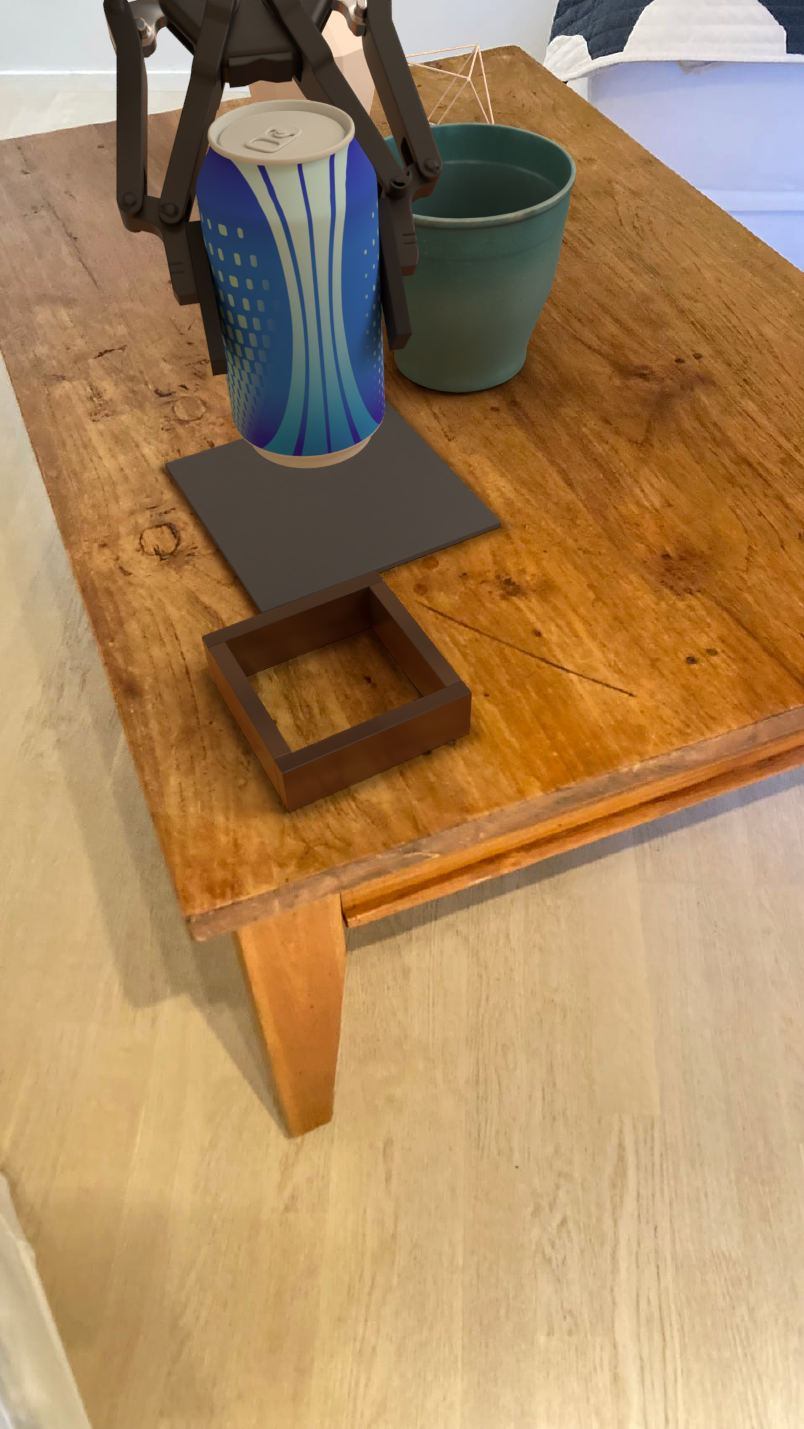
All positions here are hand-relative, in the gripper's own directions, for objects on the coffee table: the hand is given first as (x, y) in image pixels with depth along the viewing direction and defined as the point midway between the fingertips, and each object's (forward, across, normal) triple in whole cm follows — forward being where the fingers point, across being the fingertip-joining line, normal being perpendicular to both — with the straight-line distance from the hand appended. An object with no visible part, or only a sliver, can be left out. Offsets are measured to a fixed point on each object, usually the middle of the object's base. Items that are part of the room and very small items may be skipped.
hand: (311, 354), depth 52 cm
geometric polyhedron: (-41, -29, -77) cm, 92 cm away
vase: (-38, -12, -74) cm, 84 cm away
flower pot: (-8, -18, -44) cm, 48 cm away
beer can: (+3, 0, -7) cm, 8 cm away
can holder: (+19, +1, -16) cm, 25 cm away
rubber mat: (+3, -3, -32) cm, 32 cm away
